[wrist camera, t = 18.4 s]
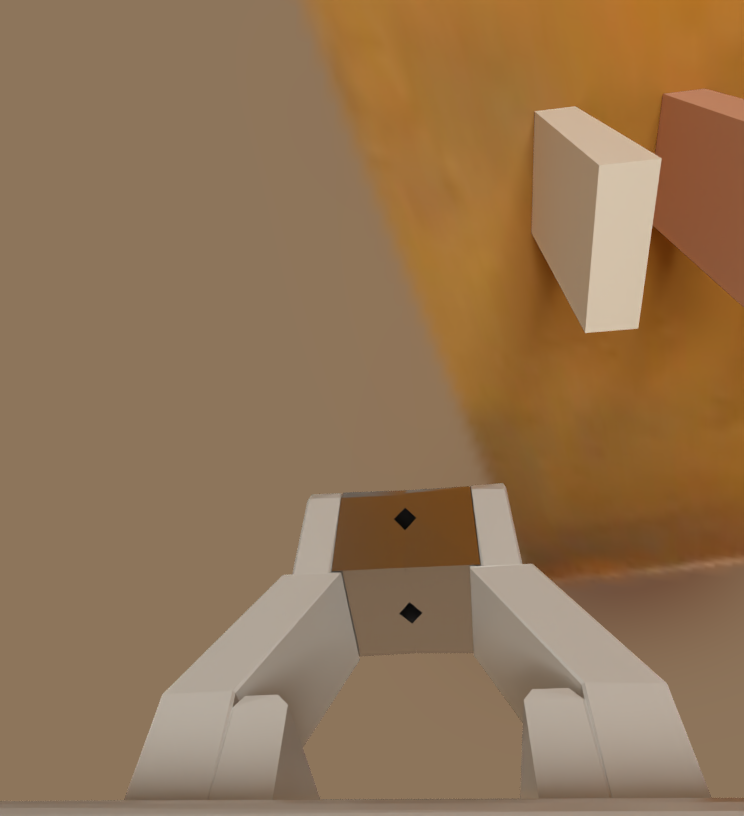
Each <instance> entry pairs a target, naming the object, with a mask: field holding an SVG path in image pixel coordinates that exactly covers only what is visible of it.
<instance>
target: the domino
mask: <svg viewBox="0 0 744 816" xmlns="http://www.w3.org/2000/svg"><path fill="white" fill-rule="evenodd" d="M655 155H657V156H658V157H660V158H662V160H661V167H660V174H659V182H658V189H657V196H656V203H655V211H654V218H653V226H654V227H655V228H656V229H657V230H658V231H659V232H660V233H661V234H663V235H664V236H665V237H666V238H667V239H668V240H669V241H670V242H671V243H673V244H674V245H675V246H676V247H677V248H678V249H679V250H680V251H682V252H683V253H684V254H685V255H686V256H687V257H688V258H689V259H690V260H692V261H693V262H694V263H695V264H696V265H697V266H698V267H699V268H701V269H702V270H703V271H704V272H705V273H706V274H707V275H708V276H709V277H711V278H712V279H713V280H714V281H715V282H716V283H717V284H718V285H719V286H721V287H722V288H723V289H724V290H725V291H726V292H727V293H728V294H730V295H731V296H732V297H733V298H734V299H735V300H736V301H737V302H738V303H740V304H741V305H742V306H743V307H744V99H741V98H738V97H734V96H730V95H727V94H723V93H719V92H716V91H712V90H708V89H699V90H691V91H683V92H674V93H666V94H663V98H662V106H661V113H660V121H659V128H658V136H657V144H656V151H655Z"/></svg>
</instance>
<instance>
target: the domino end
mask: <svg viewBox="0 0 744 816" xmlns="http://www.w3.org/2000/svg"><path fill="white" fill-rule="evenodd" d="M661 160H662V158H660V157H658V156H657V155H655V154H654V153H652V152H650V151H649V150H647V149H645V148H644V147H642V146H640V145H639V144H637V143H635V142H634V141H632V140H630V139H629V138H627V137H625V136H624V135H622V134H620V133H619V132H617V131H615V130H614V129H612V128H610V127H609V126H607V125H605V124H604V123H602V122H600V121H599V120H597V119H595V118H594V117H592V116H590V115H589V114H587V113H585V112H584V111H582V110H580V109H579V108H577V107H566V108H558V109H550V110H542V111H535V119H534V156H533V193H532V230H531V233H532V235H533V237H534V239H535V241H536V242H537V244H538V246H539V248H540V250H541V252H542V254H543V255H544V257H545V259H546V261H547V263H548V265H549V267H550V268H551V270H552V272H553V274H554V276H555V278H556V280H557V282H558V283H559V285H560V287H561V289H562V291H563V293H564V295H565V296H566V298H567V300H568V302H569V304H570V306H571V308H572V309H573V311H574V313H575V315H576V317H577V319H578V321H579V322H580V324H581V326H582V328H583V330H584V332H585V333H590V332H602V331H614V330H627V329H638V326H639V319H640V312H641V305H642V297H643V290H644V283H645V276H646V268H647V261H648V254H649V247H650V240H651V232H652V225H653V218H654V211H655V203H656V196H657V189H658V182H659V174H660V167H661Z"/></svg>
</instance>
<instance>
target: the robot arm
mask: <svg viewBox="0 0 744 816" xmlns="http://www.w3.org/2000/svg"><path fill="white" fill-rule="evenodd" d="M407 653H474V656H475V658H476V659H477V660H478V662H479V663H480V665H481V666H482V667H483V669H484V670H485V672H486V673H487V674H488V676H489V677H490V678H491V680H492V681H493V683H494V684H495V685H496V687H497V688H498V690H499V691H500V692H501V693H502V695H503V696H504V698H505V699H506V701H507V702H508V703H509V705H510V706H511V707H512V709H513V710H514V712H515V713H516V714H517V716H518V717H519V718H520V720H521V721H522V723H523V735H522V764H521V791H520V799H333V800H332V799H330V800H327V799H326V800H320V797H319V795H318V792H317V788H316V785H315V783H314V780H313V777H312V774H311V771H310V768H309V765H308V762H307V759H306V756H305V753H304V750H303V747H304V745H305V744H306V742H307V741H308V739H309V737H310V736H311V734H312V733H313V731H314V730H315V728H316V727H317V725H318V724H319V722H320V721H321V719H322V717H323V716H324V714H325V713H326V711H327V710H328V708H329V707H330V705H331V704H332V702H333V700H334V699H335V697H336V696H337V694H338V693H339V691H340V689H341V688H342V687H343V685H344V683H345V681H346V680H347V679H348V677H349V676H350V674H351V673H352V671H353V669H354V668H355V666H356V665H357V663H358V662H359V660H360V659H359V656H371V655H372V656H373V655H390V654H407ZM0 816H744V798H711V795H710V792H709V790H708V787H707V785H706V782H705V780H704V777H703V775H702V772H701V770H700V767H699V764H698V762H697V759H696V756H695V754H694V751H693V749H692V746H691V744H690V741H689V739H688V736H687V733H686V731H685V728H684V726H683V723H682V721H681V718H680V716H679V713H678V710H677V708H676V705H675V703H674V700H673V697H672V695H671V692H670V690H669V687H668V685H667V683H666V682H665V681H664V680H663V679H661V678H660V677H659V676H658V675H657V674H656V673H655V672H654V671H652V670H651V669H650V668H649V667H648V666H647V665H646V664H645V663H644V662H642V661H641V660H640V659H639V658H638V657H637V656H636V655H635V654H633V653H632V652H631V651H630V650H629V649H628V648H627V647H626V646H624V645H623V644H622V643H621V642H620V641H619V640H618V639H617V638H615V637H614V636H613V635H612V634H611V633H610V632H609V631H608V630H606V629H605V628H604V627H603V626H602V625H601V624H600V623H599V622H597V621H596V620H595V619H594V618H593V617H592V616H591V615H590V614H589V613H587V612H586V611H585V610H584V609H583V608H582V607H581V606H580V605H578V604H577V603H576V602H575V601H574V600H573V599H572V598H571V597H569V596H568V595H567V594H566V593H565V592H564V591H563V590H562V589H560V588H559V587H558V586H557V585H556V584H555V583H554V582H553V581H552V580H550V579H549V578H548V577H547V576H546V575H545V574H544V573H543V572H541V571H540V570H539V569H538V568H537V567H536V566H535V565H534V564H522V560H521V555H520V551H519V546H518V541H517V537H516V532H515V527H514V523H513V518H512V513H511V509H510V504H509V499H508V495H507V490H506V487H505V485H504V484H503V483H497V484H484V485H472V486H470V487H469V486H467V487H452V488H437V489H421V490H405V491H377V492H350V493H343V494H341V493H339V494H313V495H311V497H310V498H309V500H308V501H307V506H306V511H305V516H304V521H303V525H302V530H301V535H300V540H299V545H298V550H297V554H296V559H295V564H294V569H293V574H292V575H282V576H281V577H280V578H279V579H278V580H277V581H276V582H275V583H274V584H273V585H272V586H271V587H270V588H269V589H268V590H267V591H266V592H265V593H264V594H263V595H262V596H261V597H260V598H259V599H258V600H257V601H256V602H255V603H254V604H253V605H252V606H251V607H250V608H249V609H248V610H247V611H246V612H245V613H244V614H243V615H242V616H241V617H240V618H239V619H238V620H237V621H236V622H235V623H234V624H233V625H232V626H231V627H230V628H229V629H228V630H227V631H226V632H225V633H224V634H223V635H222V636H221V637H220V638H219V639H218V640H217V641H216V642H215V643H214V644H213V645H212V646H211V647H210V648H209V649H208V650H207V651H206V652H205V653H204V654H203V655H202V656H201V657H200V658H199V659H198V660H197V661H196V662H195V663H194V664H193V665H192V666H191V667H190V668H188V670H186V671H185V672H184V673H183V674H182V675H181V676H180V677H179V679H178V680H176V681H175V682H174V683H173V684H172V685H171V686H170V687H169V688H168V689H167V690H166V691H165V692H164V693H163V695H162V697H161V700H160V703H159V705H158V708H157V711H156V714H155V716H154V719H153V722H152V725H151V727H150V730H149V733H148V736H147V738H146V742H145V744H144V747H143V749H142V752H141V755H140V758H139V761H138V763H137V766H136V769H135V771H134V774H133V777H132V780H131V782H130V785H129V788H128V791H127V793H126V796H125V799H124V800H121V801H118V800H117V801H115V800H113V801H112V800H110V801H109V800H108V801H0Z"/></svg>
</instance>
